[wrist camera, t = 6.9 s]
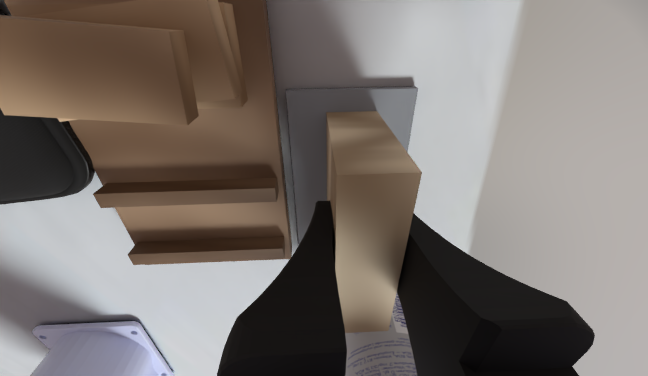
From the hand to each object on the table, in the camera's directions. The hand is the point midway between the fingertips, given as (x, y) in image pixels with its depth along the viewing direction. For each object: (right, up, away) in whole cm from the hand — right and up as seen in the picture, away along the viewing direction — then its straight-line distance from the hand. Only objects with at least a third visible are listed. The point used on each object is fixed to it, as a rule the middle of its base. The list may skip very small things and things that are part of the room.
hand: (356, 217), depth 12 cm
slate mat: (0, +2, +3) cm, 3 cm away
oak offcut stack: (-8, +6, -2) cm, 11 cm away
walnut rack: (-8, +3, +2) cm, 9 cm away
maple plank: (0, +2, +2) cm, 3 cm away
